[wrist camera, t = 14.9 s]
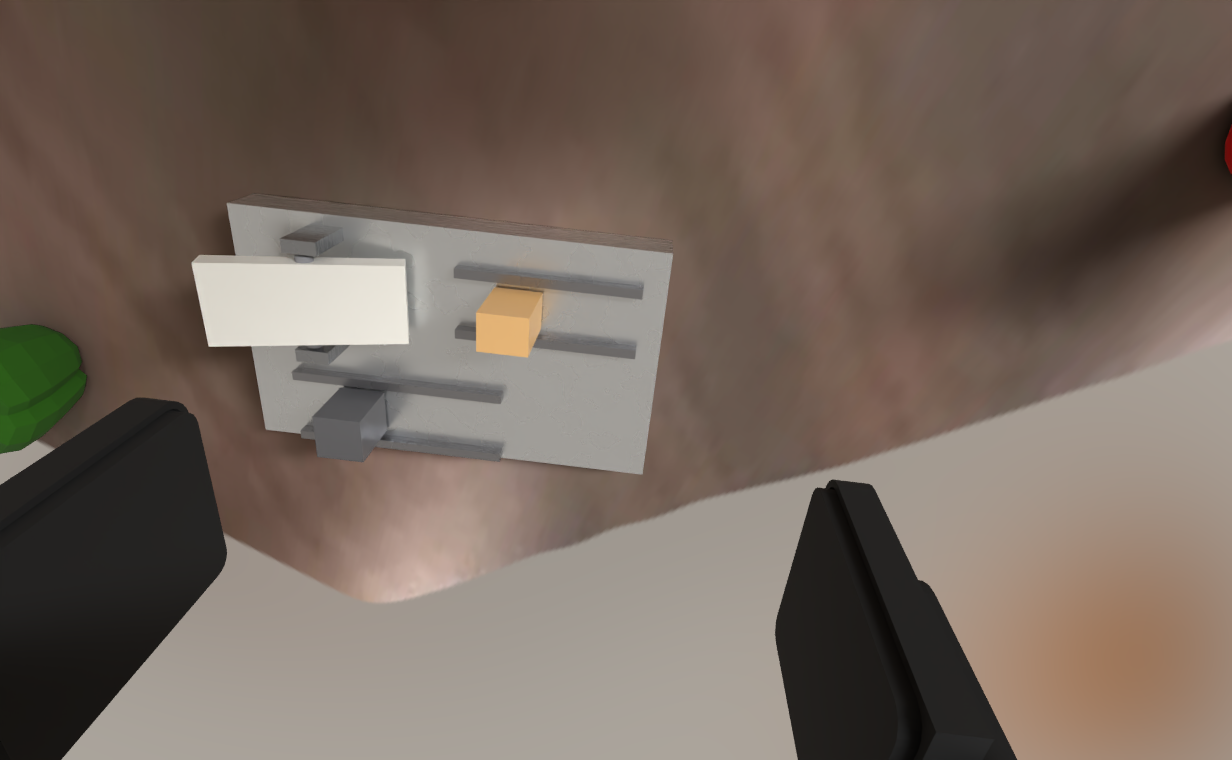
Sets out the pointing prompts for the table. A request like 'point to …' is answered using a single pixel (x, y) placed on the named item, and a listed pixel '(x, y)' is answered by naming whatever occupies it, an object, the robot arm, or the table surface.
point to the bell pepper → (35, 383)
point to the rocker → (302, 300)
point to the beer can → (1229, 150)
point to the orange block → (509, 322)
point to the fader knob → (350, 424)
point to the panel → (446, 333)
